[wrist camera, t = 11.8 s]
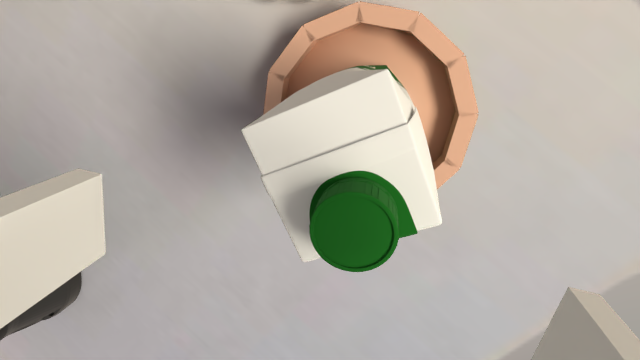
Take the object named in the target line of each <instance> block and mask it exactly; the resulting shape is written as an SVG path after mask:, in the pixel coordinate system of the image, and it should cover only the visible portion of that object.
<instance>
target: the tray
mask: <svg viewBox="0 0 640 360" xmlns="http://www.w3.org/2000/svg"><path fill="white" fill-rule="evenodd" d="M418 15H419V16H418ZM463 55H464V53H463V52H462V51H461V50H460V49H459V48H458V47H457V46H455V45H454V44H453V43H452V42H451V41H450V40H449V39H448V38H447V37H446V36H445V35H444V34H443V33H442V32H441V31H440V30H439V29H438V28H437V27H435V26H434V25H433V24H432V23H431V22H430V21H429V20H428V19H427V18H426V17H425V16H424V15H423V14H422V13H420V14H419V12H417V11H412V10H406V9H400V8H395V7H391V6H384V5H377V4H372V3H366V2H360V3H358V2H356V3H354V4H351V5H349V6H346V7H344V8H342V9H339V10H337V11H334V12H332V13H330V14H327V15H325V16H322V17H320V18H318V19H315V20H313V21H310V22H308V23H306V24H304V26H301V28H300V29H299V30H298V32H297V33H296V35H295V36H294V37H293V39H292V40H291V41H290V43H289V44H288V45H287V47H286V48H285V49H284V51H283V52H282V54H281V55H280V56H279V58H278V59H277V60H276V62H275V63H274V64H273V66H272V67H271V68H270V70H269V71H270V72H268V79H267V87H266V96H265V104H264V113H263V115H264V114H265V113H267V112H268V111H270V110H271V109H272V108H274V107H275V106H277V105H278V104H280V103H281V102H282V101H284V100H285V99H287V98H288V97H289V96H291V95H292V94H294V93H295V92H297V91H299V90H301V89H303V88H305V87H307V86H308V85H310V84H312V83H314V82H316V81H318V80H320V79H322V78H324V77H327V76H329V75H332V74H334V73H337V72H339V71H342V70H345V69H348V68H351V67H355V66H364V65H387V67H388V68H389V69H390V70H391V72H392V73H393V74H394V75H395V76H396V78H397V79H398V80H399V81H400V83H401V84H402V85H403V86H404V88H405V89H406V90H407V92H408V94H409V96H410V98H411V100H412V102H413V104H414V106H415V107H416V108H417V110H418V113H419V116H420V119H421V122H422V126H423V129H424V133H425V136H426V140H427V144H428V148H429V152H430V156H431V161H432V165H433V169H434V175H435V181H436V187H437V189H438V188H439V187H440V186H441V185H443V184H444V183H445V182H446V181H447V180H448V179H449V178H450V177H452V176H453V175H454V174H455V173H456V172H457V171H458V170H459V167H460V168H461V165H462V162H463V159H464V156H465V153H466V150H467V147H468V145H469V142H470V139H471V136H472V133H473V130H474V127H475V124H476V121H477V118H478V115H479V114H477V113H479V112H478V108H477V103H476V99H475V95H474V91H473V86H472V82H471V78H470V73H469V69H468V65H467V60H466V56H463Z"/></svg>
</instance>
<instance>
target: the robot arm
mask: <svg viewBox="0 0 640 360" xmlns="http://www.w3.org/2000/svg"><path fill="white" fill-rule="evenodd" d="M105 254H106V250H105V229H104V208H103V187H102V174H99V173H95V172H91V171H87V170H83V169H79V168H78V169H75V170H73V171H70V172H67V173H65V174H62V175H59V176H57V177H54V178H51V179H49V180H46V181H43V182H41V183H38V184H35V185H33V186H30V187H27V188H25V189H22V190H19V191H17V192H14V193H11V194H9V195H6V196H3V197H1V198H0V340H2V339H3V338H4V337H6V336H8V335H10V334H12V333H15V332H17V331H19V330H22V329H24V328H27V327H29V326H31V325H33V324H36V323H38V322H39V321H41V320H46V319H49V318H51V317H53V316H55V315H57V314H59V313H60V312H61V311H63V310H64V309H65V308H66V307H68V306H69V305H70V304H71V303H73V302H74V301H75V299H76V298H77V296H78V295H79V292H80V289H81V271H82V270H84V269H85V268H86V267H88V266H89V265H91V264H92V263H93V262H95V261H96V260H98V259H99V258H100V257H102V256H103V255H105ZM531 360H640V340H639V339H638V338H637V337H636V335H635V334H634V333H633V332H632V331H631V330H630V328H629V327H628V326H627V325H626V324H625V323H624V322H623V320H622V319H621V318H620V317H619V316H618V315H617V314H616V313H615V311H614V310H613V309H612V308H611V307H610V306H609V304H608V303H607V302H606V301H605V300H604V299H603V298H602V296H601V295H600V294H596V293H591V292H587V291H583V290H579V289H575V288H571V287H568V288H567V290H566V292H565V294H564V296H563V298H562V300H561V302H560V304H559V306H558V308H557V310H556V312H555V314H554V316H553V318H552V320H551V322H550V324H549V326H548V328H547V329H546V331H545V333H544V335H543V338H542V339H541V341H540V343H539V345H538V347H537V349H536V351H535V353H534V355H533V357H532V359H531Z"/></svg>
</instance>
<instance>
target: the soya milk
mask: <svg viewBox="0 0 640 360" xmlns="http://www.w3.org/2000/svg"><path fill="white" fill-rule="evenodd" d="M241 131H242V133H243V135H244V137H245V140H246V142H247V144H248V146H249V148H250V150H251V152H252V154H253V157H254V159H255V161H256V163H257V165H258V167H259V169H260V171H261V173H262V176H261V179H262V182H263V184H264V186H265V188H266V190H267V192H268V194H269V196H270V197H271V198H272V201H273V203H274V205H275V207H276V209H277V211H278V213H279V215H280V217H281V219H282V221H283V223H284V225H285V227H286V229H287V231H288V234H289V236H290V238H291V240H292V242H293V244H294V246H295V248H296V250H297V252H298V254H299V256H300V258H301V260H302V262H308V261H311V260H315V259H318V258H321V257H322V258H323V259H324V260H325V261H326V262H327V263H329V264H330V265H332V266H334V267H336V268H338V269H341V270H345V271H350V272H363V271H368V270H372V269H374V268H377V267H379V266H380V265H382V264H383V263H385V262H386V261H387V260H388V259H389V258H390V257H391V255H392V254H393V252H394V251H395V248H396V246H397V243H398V240H399V238H402V237H406V236H410V235H414V234H417V231H418V230H422V229H426V228H430V227H434V226H437V225H440V224H441V223H442V219H441V214H440V208H439V201H438V194H437V187H436V181H435V175H434V169H433V165H432V161H431V156H430V152H429V148H428V144H427V140H426V136H425V133H424V129H423V126H422V122H421V119H420V116H419V113H418V110H417V108H416V107H415V106H414V104H413V102H412V100H411V98H410V96H409V94H408V92H407V90H406V89H405V88H404V86H403V85H402V84H401V83H400V81H399V80H398V79H397V78H396V76H395V75H394V74H393V73H392V72H391V70H390V69H389V68H388V67H387V65H364V66H355V67H351V68H348V69H345V70H342V71H339V72H337V73H334V74H332V75H329V76H327V77H324V78H322V79H320V80H318V81H316V82H314V83H312V84H310V85H308V86H307V87H305V88H303V89H301V90H299V91H297V92H295V93H294V94H292V95H291V96H289V97H288V98H287V99H285V100H284V101H282V102H281V103H280V104H278V105H277V106H275V107H274V108H272V109H271V110H270V111H268V112H267V113H265V114H264V115H262V116H261V117H260V118H258V119H257V120H255V121H254V122H252V123H251V124H249V125H248V126H246V127H245V128H243V129H242V130H241Z"/></svg>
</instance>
